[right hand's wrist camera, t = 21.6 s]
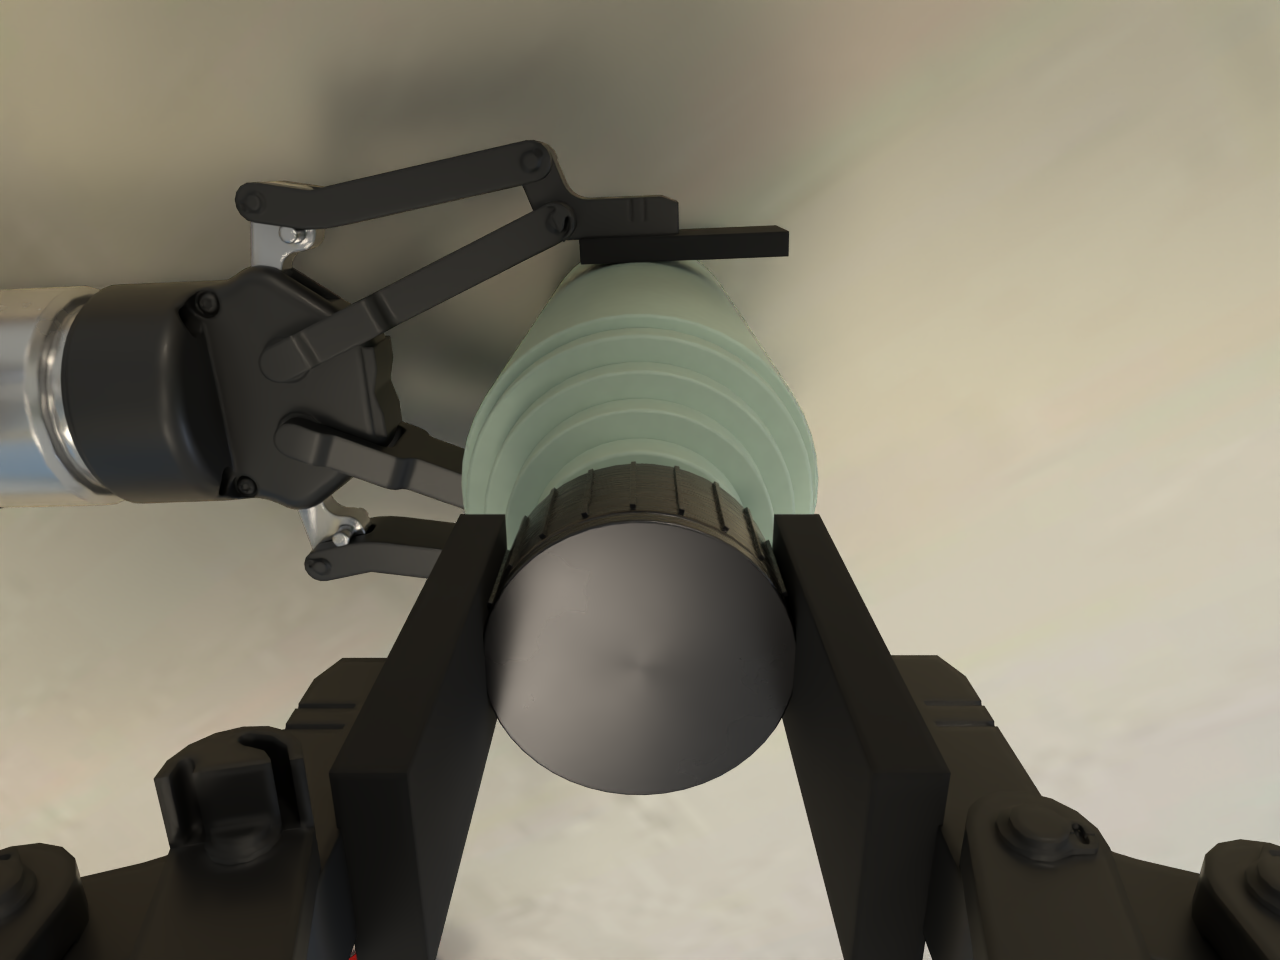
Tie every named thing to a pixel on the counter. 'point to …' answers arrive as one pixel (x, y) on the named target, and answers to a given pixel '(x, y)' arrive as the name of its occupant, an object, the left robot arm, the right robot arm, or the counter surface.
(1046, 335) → the counter surface
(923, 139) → the counter surface
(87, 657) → the counter surface
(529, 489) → the bottle
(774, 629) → the cap
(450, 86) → the counter surface
